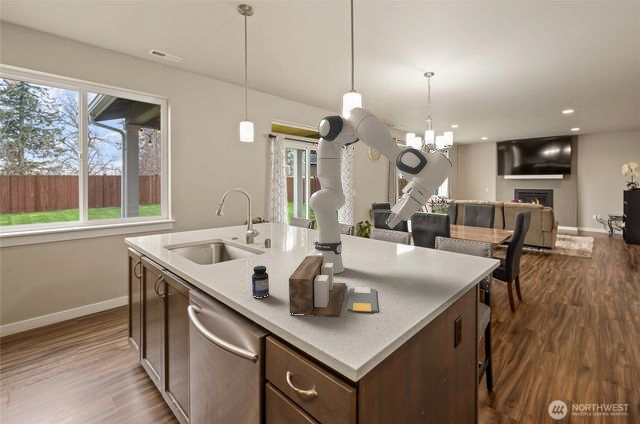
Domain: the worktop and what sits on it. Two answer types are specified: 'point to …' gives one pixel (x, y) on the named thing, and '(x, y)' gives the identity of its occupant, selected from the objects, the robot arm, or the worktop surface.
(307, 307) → the key panel
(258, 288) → the pill bottle
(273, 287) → the worktop surface
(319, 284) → the outer key
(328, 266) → the inner key
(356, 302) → the card
